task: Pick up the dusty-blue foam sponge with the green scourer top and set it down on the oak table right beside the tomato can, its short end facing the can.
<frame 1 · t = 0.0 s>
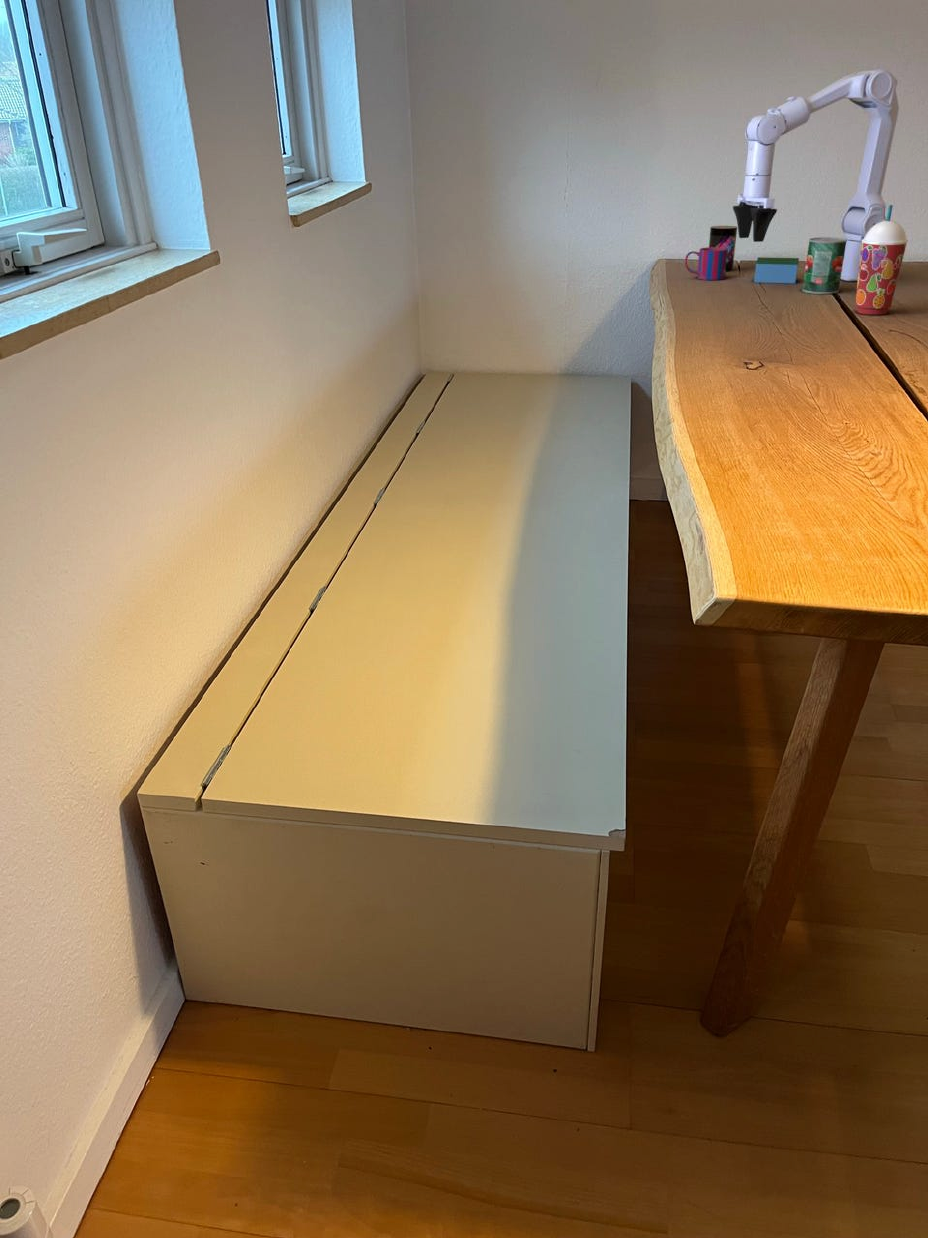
hand: (750, 239, 216), 10 cm above the table, tool pointing down, fingers open, 7 cm apart
smoothie: (871, 313, 189), on the table
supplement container: (719, 270, 242), on the table
mug: (703, 278, 232), on the table
canned tomato: (820, 291, 212), on the table
sponge: (775, 280, 225), on the table
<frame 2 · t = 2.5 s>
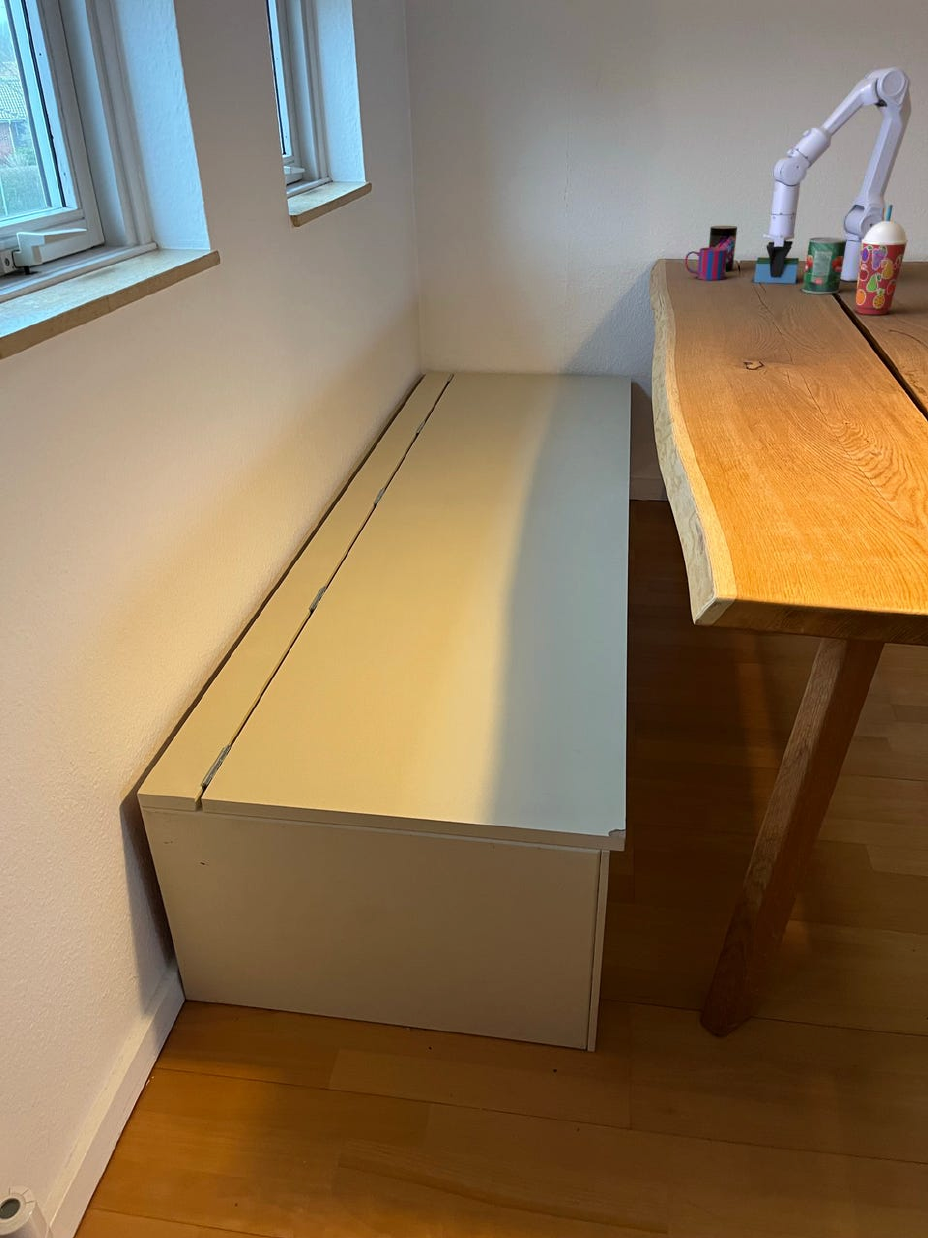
hand: (775, 274, 224), 1 cm above the table, tool pointing down, fingers closed on sponge, 5 cm apart
sponge: (775, 280, 225), on the table, touching gripper
everything else where it was.
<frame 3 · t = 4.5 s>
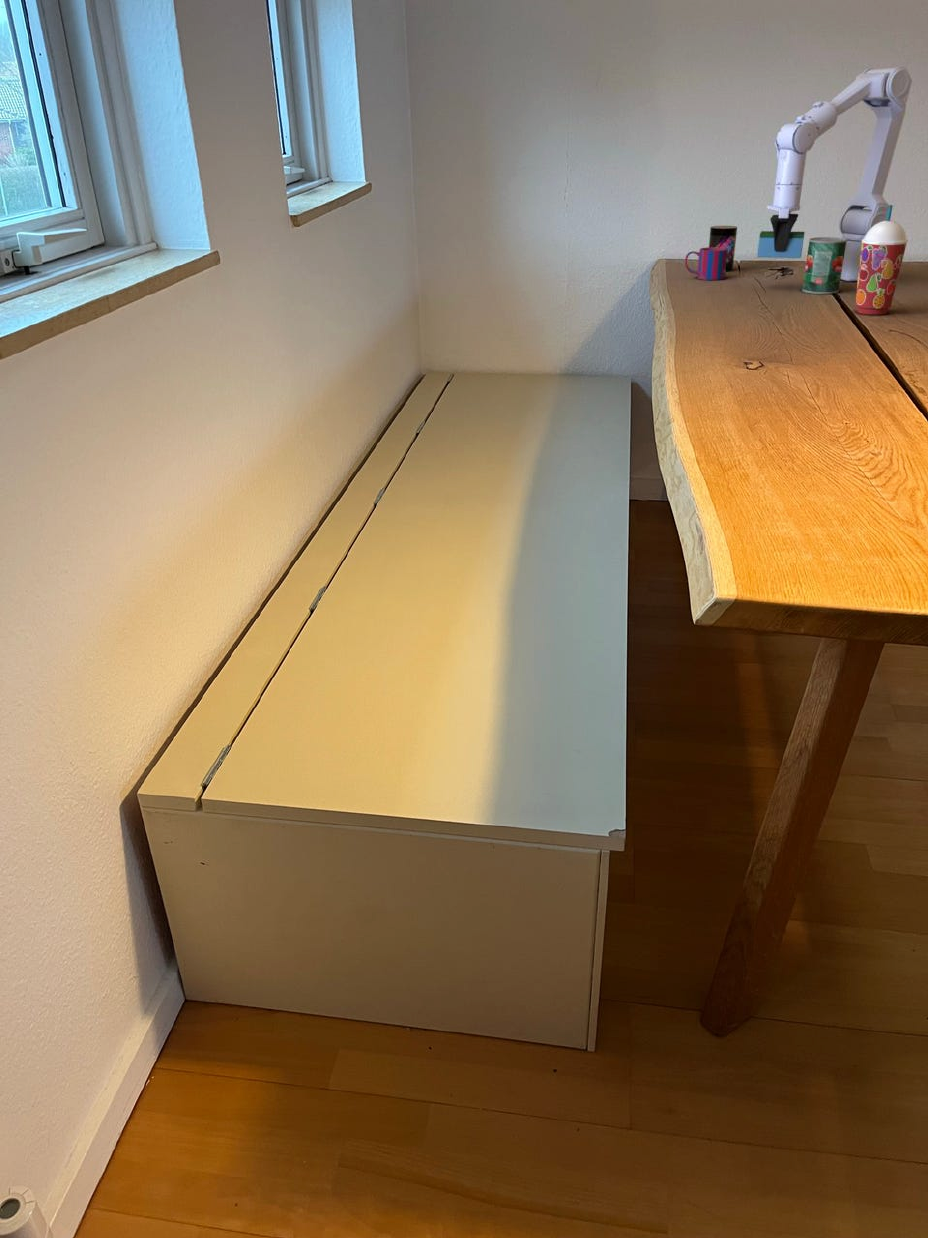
hand: (780, 249, 212), 8 cm above the table, tool pointing down, fingers closed on sponge, 5 cm apart
sponge: (779, 256, 213), point 7 cm above the table, touching gripper
everything else where it was.
when the fingers open (1 cm above the table, at t = 7.0 s): sponge stays where it is, on the table.
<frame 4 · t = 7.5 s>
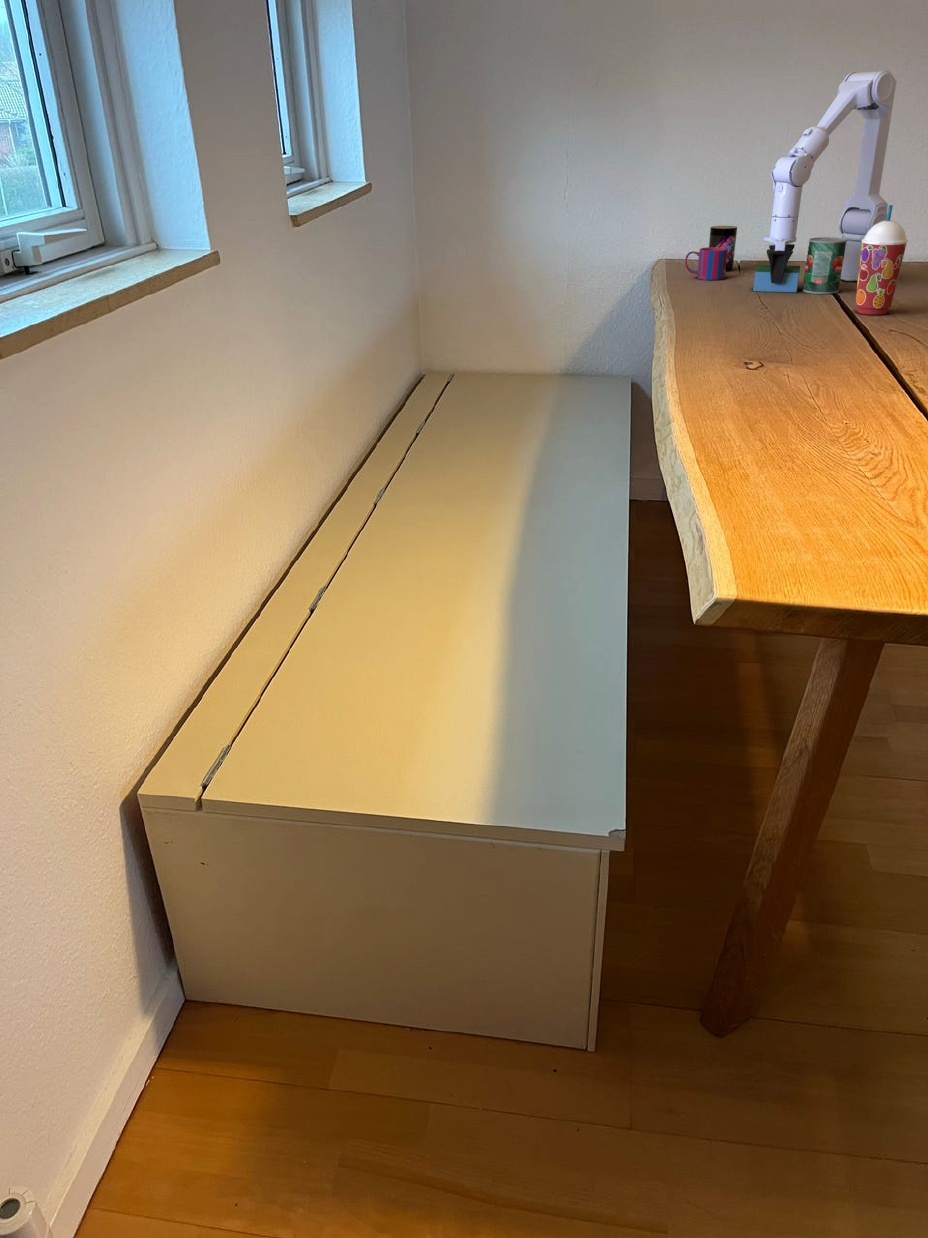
hand: (776, 280, 213), 2 cm above the table, tool pointing down, fingers open, 7 cm apart
sponge: (775, 289, 214), on the table
everything else where it was.
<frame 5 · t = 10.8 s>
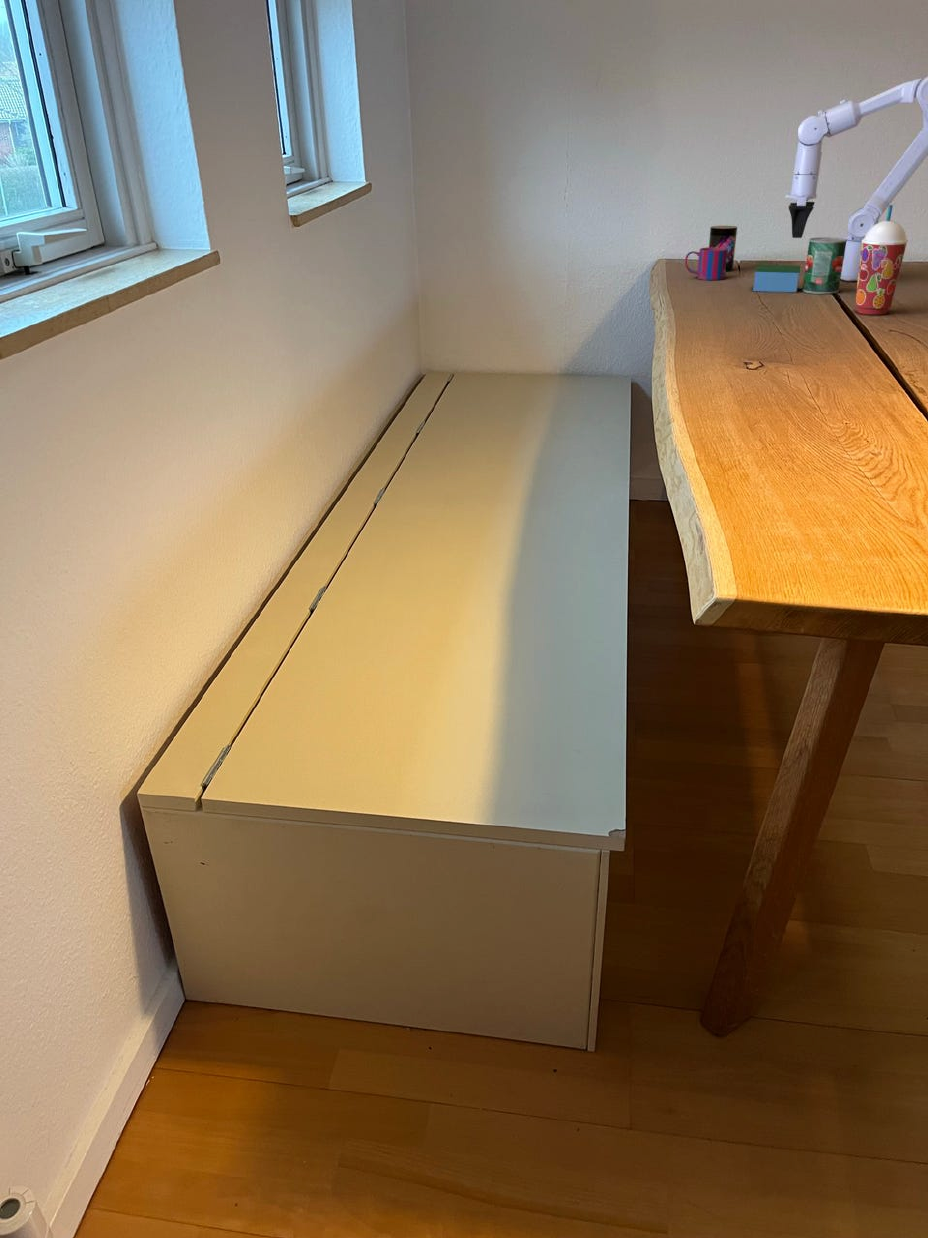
hand: (797, 235, 226), 9 cm above the table, tool pointing down, fingers open, 7 cm apart
nothing on the table moved.
at the end: sponge 9.8 cm from the canned tomato (horizontally); sponge on the table; canned tomato tilted 0° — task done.
